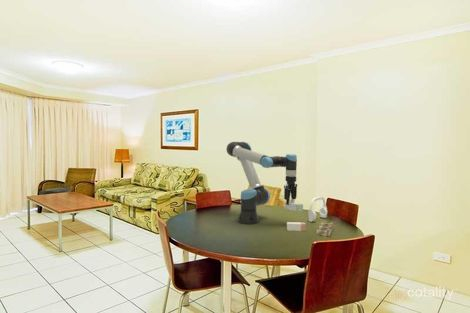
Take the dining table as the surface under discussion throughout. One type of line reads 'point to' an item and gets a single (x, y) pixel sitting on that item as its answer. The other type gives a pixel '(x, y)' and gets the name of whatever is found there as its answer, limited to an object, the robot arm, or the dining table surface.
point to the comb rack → (325, 229)
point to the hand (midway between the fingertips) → (290, 208)
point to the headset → (322, 210)
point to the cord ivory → (296, 226)
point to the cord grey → (295, 206)
